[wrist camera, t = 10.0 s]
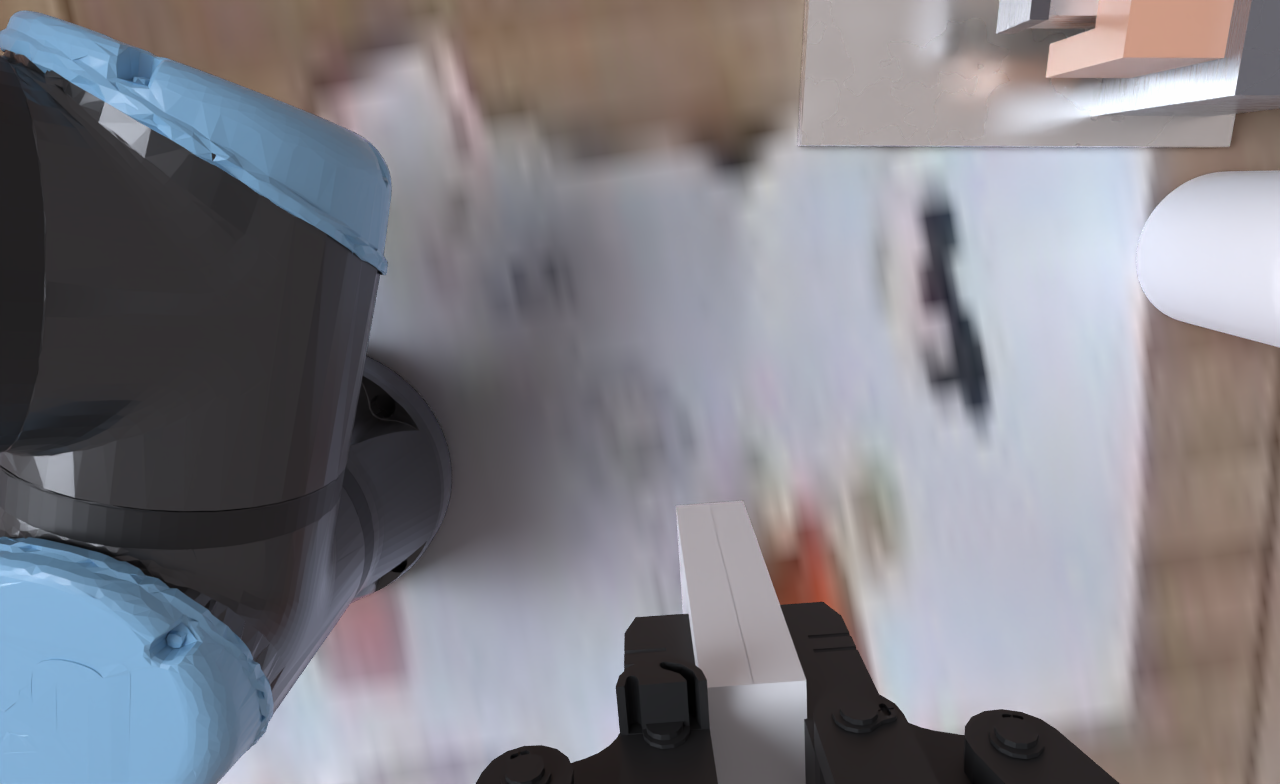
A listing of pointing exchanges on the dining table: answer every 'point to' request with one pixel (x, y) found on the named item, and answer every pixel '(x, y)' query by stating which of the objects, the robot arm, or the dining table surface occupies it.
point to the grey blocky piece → (1012, 82)
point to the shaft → (1045, 15)
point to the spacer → (1143, 39)
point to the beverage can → (1217, 254)
